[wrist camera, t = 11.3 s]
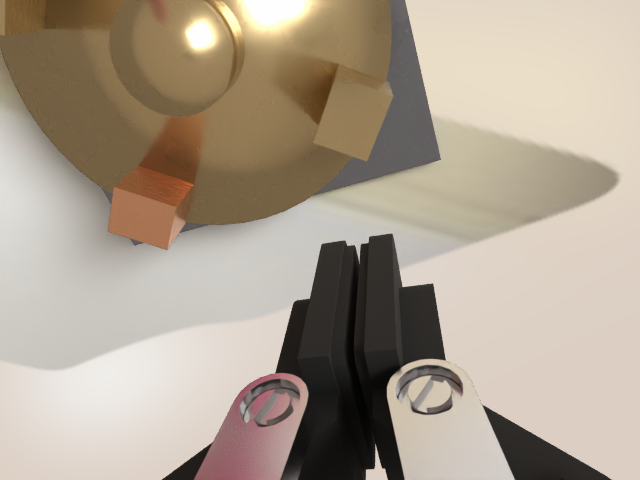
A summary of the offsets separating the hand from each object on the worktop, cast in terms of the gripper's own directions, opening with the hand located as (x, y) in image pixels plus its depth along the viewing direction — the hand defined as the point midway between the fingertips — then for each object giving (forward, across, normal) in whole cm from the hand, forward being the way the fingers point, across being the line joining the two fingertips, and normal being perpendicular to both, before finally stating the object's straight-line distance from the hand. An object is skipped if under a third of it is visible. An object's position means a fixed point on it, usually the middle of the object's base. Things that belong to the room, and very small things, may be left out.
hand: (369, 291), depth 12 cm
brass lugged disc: (+20, +10, -5) cm, 23 cm away
